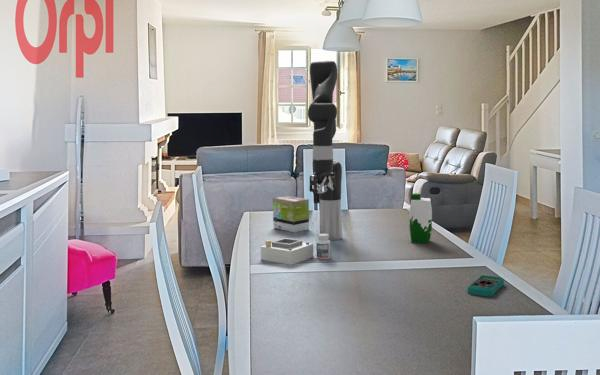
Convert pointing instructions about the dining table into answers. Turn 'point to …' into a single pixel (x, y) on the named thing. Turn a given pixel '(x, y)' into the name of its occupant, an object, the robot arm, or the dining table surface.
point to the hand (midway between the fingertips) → (323, 201)
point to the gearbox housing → (286, 251)
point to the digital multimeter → (486, 286)
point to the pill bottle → (323, 246)
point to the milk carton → (420, 219)
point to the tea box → (291, 213)
